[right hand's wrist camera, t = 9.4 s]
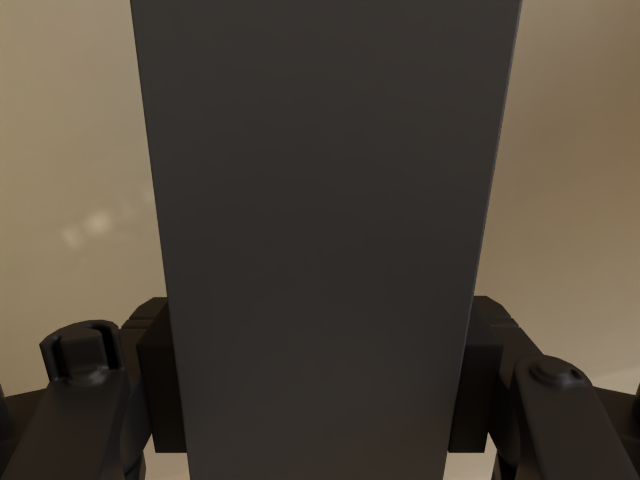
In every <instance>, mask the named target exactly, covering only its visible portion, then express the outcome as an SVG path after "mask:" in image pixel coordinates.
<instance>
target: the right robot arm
mask: <svg viewBox="0 0 640 480" xmlns="http://www.w3.org/2000/svg"><path fill="white" fill-rule="evenodd" d="M39 346H40V349H41V353H42V356H43V360H44V363H45V367H46V370H47V374H48V377H49V381H50V382H49V384H48V386H47V388H45V389H41V390H37V391H32V392H27V393H22V394H18V395H13V396H8V397H5V396H4V393H3V390H2V388H1V385H0V480H145V473H146V464H145V458H144V453H143V450H144V448H145V446H146V444H147V442H148V440H149V438H150V436H151V434H152V436H153V442H154V447H155V452H156V453H187V450H186V442H185V434H184V426H183V418H182V410H181V402H180V394H179V386H178V378H177V370H176V362H175V354H174V346H173V338H172V330H171V322H170V315H169V307H168V299H167V297H153V298H152V299H150V300H148V301H147V302H145V303H143V304H142V305H140V306H139V307H138V308H137V309H136V310H135V311H134V312H133V314H132V315H131V316H130V317H129V320H127V321H126V322H125V323H124V324H123V325H122V328H121V329H119V328H118V326H117V325H116V324H114V323H113V322H111V321H106V320H87V321H83V322H78V323H74V324H71V325H68V326H66V327H63V328H60V329H58V330H57V331H55V332H53V333H52V334H50V335H48V336H47V337H46V338H45V339H44V340H43V341H42V342H41V343H40V344H39ZM488 432H489V434H490V436H491V438H492V440H493V442H494V444H495V446H496V448H497V453H496V458H495V463H494V468H493V473H492V478H491V480H640V383H639V386H638V389H637V392H636V395H632V394H627V393H622V392H617V391H612V390H607V389H602V388H598V387H594V386H593V385H592V383H591V381H590V380H589V379H588V377H587V376H586V375H585V374H584V373H583V372H582V371H581V370H579V369H578V368H577V367H575V366H574V365H572V364H570V363H568V362H566V361H563V360H561V359H559V358H556V357H552V356H548V355H544V354H543V353H542V352H541V351H540V350H539V349H538V347H537V346H536V345H535V344H534V343H533V342H532V340H531V339H530V338H529V337H528V336H527V335H526V333H525V332H524V331H523V330H522V329H521V327H519V325H518V324H517V323H516V322H515V320H514V319H513V318H511V316H510V315H509V313H508V312H507V311H506V310H505V309H504V307H503V306H502V305H500V304H499V303H497V302H495V301H494V300H492V299H491V298H489V297H487V296H473V301H472V307H471V313H470V319H469V325H468V331H467V337H466V343H465V349H464V355H463V361H462V367H461V373H460V379H459V385H458V391H457V397H456V403H455V409H454V415H453V421H452V427H451V433H450V439H449V445H448V452H449V453H484V451H485V446H486V440H487V435H488Z"/></svg>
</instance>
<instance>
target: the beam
mask: <svg viewBox="0 0 640 480" xmlns="http://www.w3.org/2000/svg"><path fill="white" fill-rule="evenodd" d="M130 5H131V13H132V21H133V29H134V37H135V44H136V52H137V60H138V68H139V76H140V84H141V92H142V100H143V108H144V116H145V124H146V132H147V140H148V148H149V156H150V164H151V172H152V179H153V187H154V195H155V203H156V211H157V219H158V227H159V235H160V243H161V251H162V259H163V267H164V275H165V283H166V291H167V299H168V307H169V315H170V322H171V330H172V338H173V346H174V354H175V362H176V370H177V378H178V386H179V394H180V402H181V410H182V418H183V426H184V434H185V442H186V450H187V457H188V465H189V473H190V480H443V475H444V469H445V463H446V457H447V451H448V445H449V439H450V433H451V427H452V421H453V415H454V409H455V403H456V397H457V391H458V385H459V379H460V373H461V367H462V361H463V355H464V349H465V343H466V337H467V331H468V325H469V319H470V313H471V307H472V301H473V295H474V289H475V283H476V277H477V271H478V265H479V259H480V253H481V247H482V241H483V235H484V229H485V223H486V217H487V211H488V205H489V199H490V193H491V187H492V181H493V175H494V169H495V163H496V157H497V151H498V145H499V139H500V133H501V127H502V121H503V114H504V108H505V102H506V96H507V90H508V84H509V78H510V72H511V66H512V60H513V54H514V48H515V42H516V36H517V30H518V24H519V18H520V12H521V6H522V0H130Z"/></svg>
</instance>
